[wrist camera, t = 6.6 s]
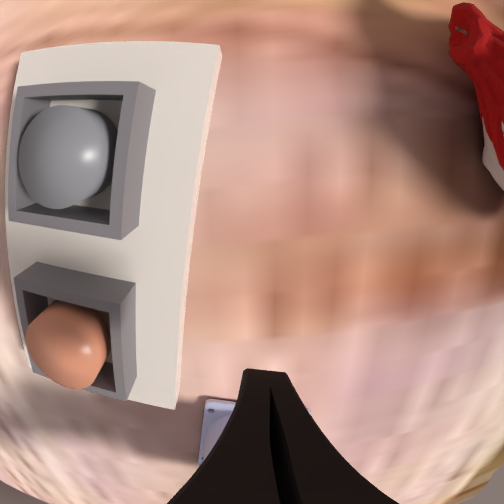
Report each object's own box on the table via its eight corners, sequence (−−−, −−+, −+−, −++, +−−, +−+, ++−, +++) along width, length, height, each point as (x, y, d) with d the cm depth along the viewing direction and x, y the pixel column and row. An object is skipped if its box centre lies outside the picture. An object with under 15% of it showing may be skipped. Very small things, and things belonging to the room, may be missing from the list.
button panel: (179, 391, 22) (168, 436, 17) (40, 354, 21) (14, 387, 17) (222, 55, 15) (213, 28, 10) (39, 57, 14) (-4, 45, 10)
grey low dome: (116, 203, 15) (94, 214, 12) (44, 194, 14) (17, 203, 12) (127, 109, 13) (106, 105, 11) (51, 109, 13) (23, 106, 11)
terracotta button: (114, 370, 17) (100, 398, 15) (51, 352, 17) (34, 375, 15) (110, 306, 16) (91, 331, 13) (41, 289, 15) (18, 309, 13)
